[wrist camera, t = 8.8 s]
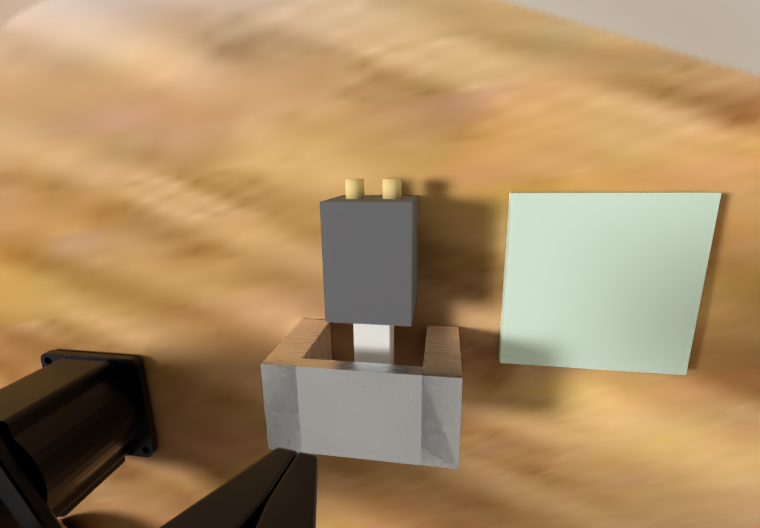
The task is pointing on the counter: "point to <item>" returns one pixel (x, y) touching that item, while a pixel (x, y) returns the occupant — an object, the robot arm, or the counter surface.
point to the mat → (605, 278)
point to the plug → (370, 264)
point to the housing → (364, 400)
